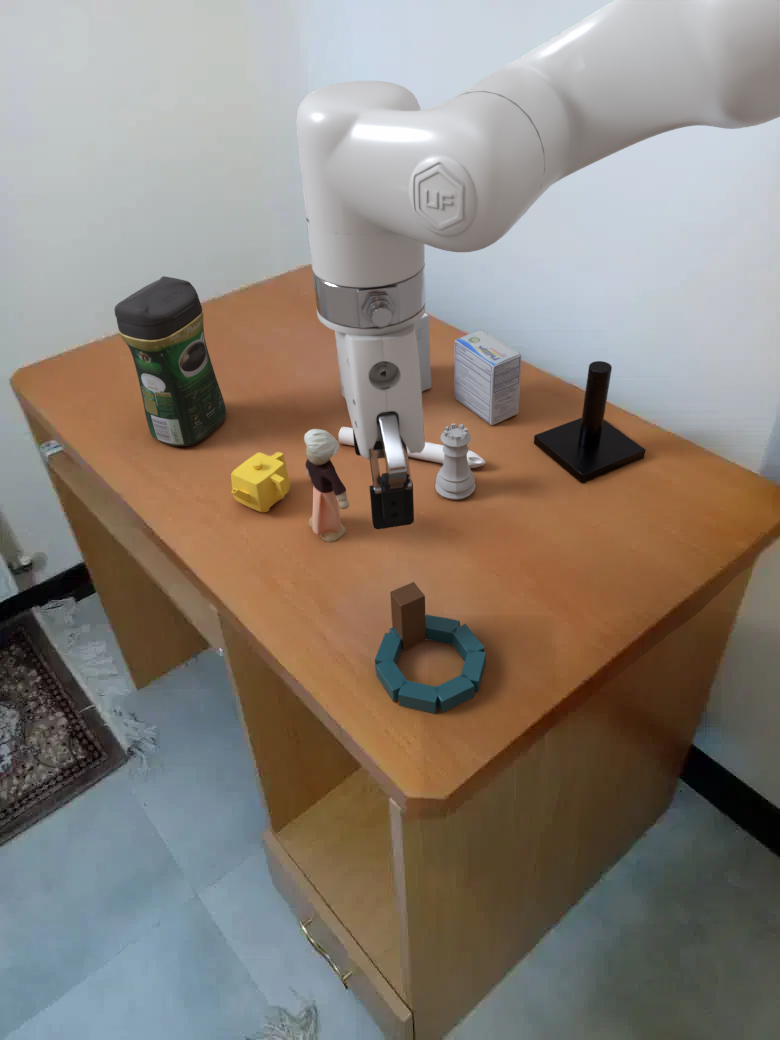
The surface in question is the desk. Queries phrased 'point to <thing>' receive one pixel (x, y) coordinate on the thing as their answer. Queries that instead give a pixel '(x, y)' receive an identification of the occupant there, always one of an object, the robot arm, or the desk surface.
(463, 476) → the rook chess piece
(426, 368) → the cosmetics box
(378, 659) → the teal segmented ring
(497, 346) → the medicine box
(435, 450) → the marker
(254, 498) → the teapot
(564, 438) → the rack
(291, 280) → the desk surface
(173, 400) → the coffee jar
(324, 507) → the grandmother figurine
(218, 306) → the desk surface
